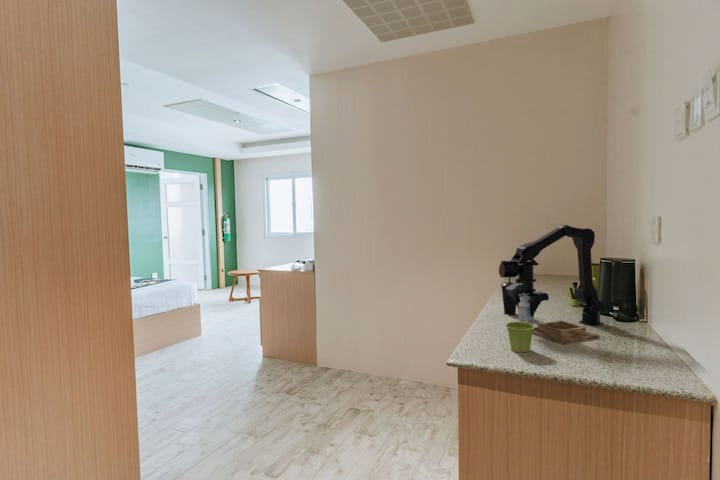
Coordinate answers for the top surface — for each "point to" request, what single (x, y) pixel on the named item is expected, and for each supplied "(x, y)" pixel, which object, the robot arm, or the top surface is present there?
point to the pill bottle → (525, 310)
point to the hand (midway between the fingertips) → (526, 314)
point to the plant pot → (520, 336)
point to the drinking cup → (508, 300)
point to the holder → (563, 332)
